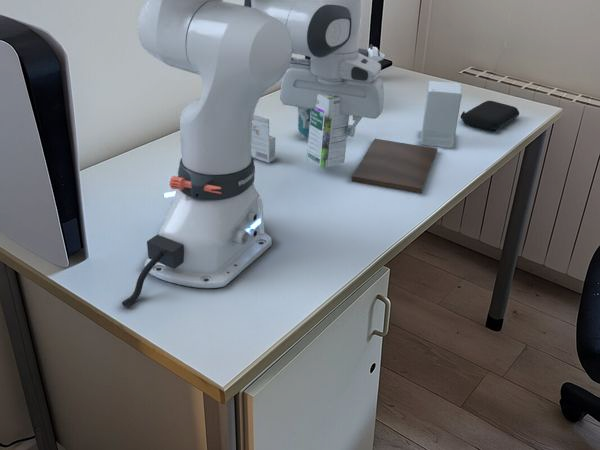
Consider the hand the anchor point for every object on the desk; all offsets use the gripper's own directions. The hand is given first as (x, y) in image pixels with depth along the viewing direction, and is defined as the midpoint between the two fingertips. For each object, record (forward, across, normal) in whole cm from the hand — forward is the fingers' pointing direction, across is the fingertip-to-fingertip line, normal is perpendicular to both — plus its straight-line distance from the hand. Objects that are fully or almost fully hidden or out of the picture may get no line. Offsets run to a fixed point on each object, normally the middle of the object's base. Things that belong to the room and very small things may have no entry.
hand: (328, 131), depth 135 cm
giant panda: (+7, -9, +58) cm, 59 cm away
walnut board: (+8, +13, +7) cm, 17 cm away
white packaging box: (+8, +19, +24) cm, 32 cm away
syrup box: (+7, 0, 0) cm, 7 cm away
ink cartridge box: (+9, -17, +1) cm, 19 cm away
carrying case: (+7, +29, +40) cm, 50 cm away
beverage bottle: (+8, -8, +15) cm, 19 cm away
